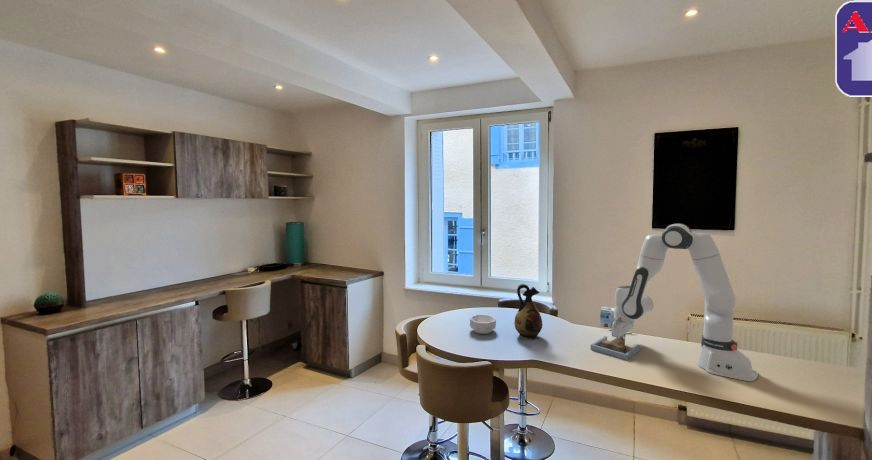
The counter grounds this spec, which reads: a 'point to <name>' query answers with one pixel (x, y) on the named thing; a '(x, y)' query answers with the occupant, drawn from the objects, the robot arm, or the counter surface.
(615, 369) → the counter surface
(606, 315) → the light bulb box
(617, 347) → the walnut T block
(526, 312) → the ceramic jug
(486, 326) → the white stone bowl
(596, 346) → the docking bay
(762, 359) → the counter surface
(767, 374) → the counter surface
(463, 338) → the counter surface
